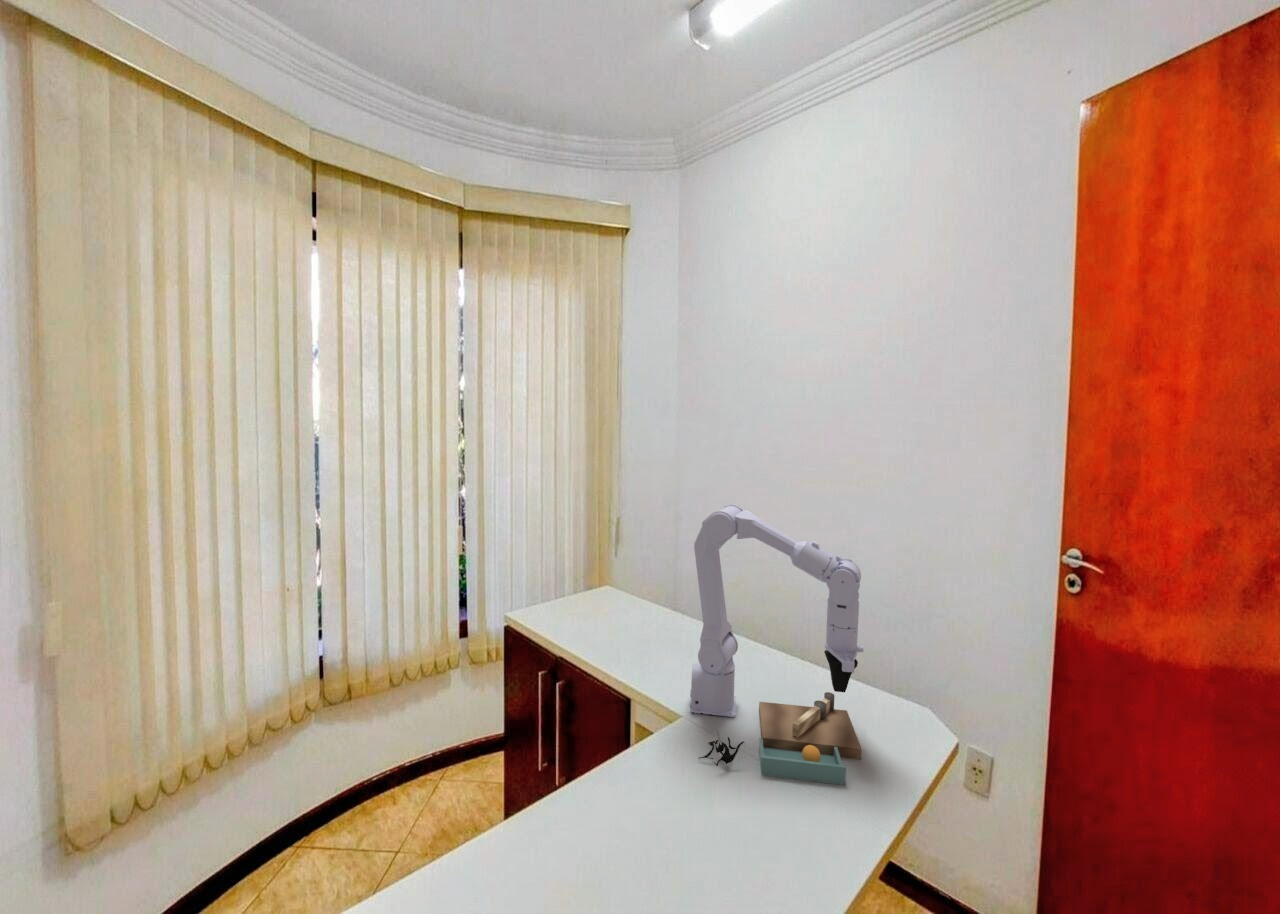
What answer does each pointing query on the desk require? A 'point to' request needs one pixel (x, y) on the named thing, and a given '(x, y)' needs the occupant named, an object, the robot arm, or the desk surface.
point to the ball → (811, 753)
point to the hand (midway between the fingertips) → (839, 690)
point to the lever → (813, 714)
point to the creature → (726, 755)
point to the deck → (821, 734)
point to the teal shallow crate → (801, 765)
